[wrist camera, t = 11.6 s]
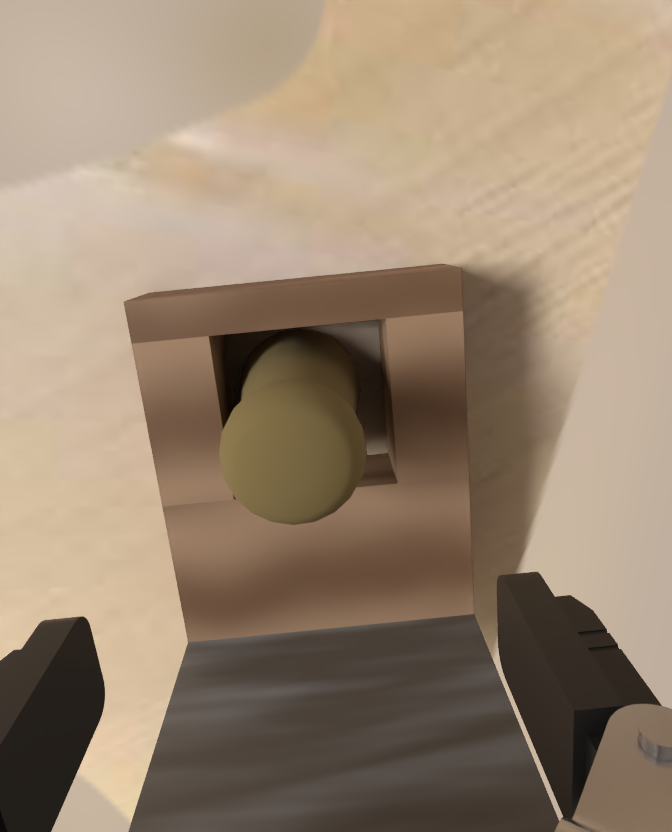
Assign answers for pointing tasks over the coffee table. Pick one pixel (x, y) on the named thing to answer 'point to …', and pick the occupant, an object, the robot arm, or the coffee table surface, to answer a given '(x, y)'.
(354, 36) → the coffee table surface
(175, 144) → the coffee table surface
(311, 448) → the cork
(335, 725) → the socket stand
